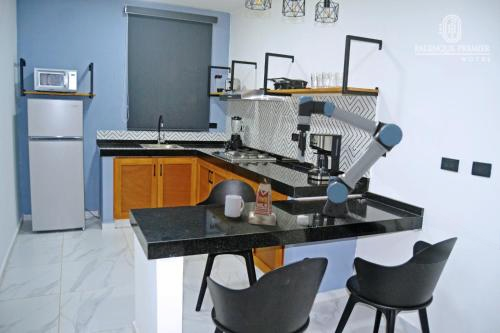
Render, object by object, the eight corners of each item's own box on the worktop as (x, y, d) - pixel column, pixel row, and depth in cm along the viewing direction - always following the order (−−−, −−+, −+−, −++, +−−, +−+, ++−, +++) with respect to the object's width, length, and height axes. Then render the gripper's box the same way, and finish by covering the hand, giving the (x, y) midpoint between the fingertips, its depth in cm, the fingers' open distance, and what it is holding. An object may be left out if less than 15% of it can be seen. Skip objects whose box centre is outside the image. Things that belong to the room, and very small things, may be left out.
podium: (274, 218, 228) (274, 212, 228) (275, 225, 214) (276, 219, 214) (249, 216, 228) (249, 210, 228) (248, 223, 214) (249, 217, 214)
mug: (248, 215, 230) (249, 197, 228) (230, 218, 222) (232, 198, 221) (238, 212, 236) (239, 194, 235) (221, 214, 229) (222, 195, 227)
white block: (307, 222, 225) (308, 215, 224) (308, 225, 219) (309, 218, 219) (296, 222, 225) (297, 214, 225) (297, 225, 219) (298, 217, 219)
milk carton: (269, 217, 216) (273, 179, 213) (252, 215, 217) (255, 178, 215) (272, 213, 225) (275, 177, 222) (255, 211, 226) (258, 175, 224)
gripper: (295, 122, 248) (292, 158, 250) (299, 123, 223) (296, 162, 225) (307, 123, 248) (304, 159, 250) (313, 124, 223) (309, 163, 225)
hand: (300, 160), depth 238 cm, fingers open, 13 cm apart
